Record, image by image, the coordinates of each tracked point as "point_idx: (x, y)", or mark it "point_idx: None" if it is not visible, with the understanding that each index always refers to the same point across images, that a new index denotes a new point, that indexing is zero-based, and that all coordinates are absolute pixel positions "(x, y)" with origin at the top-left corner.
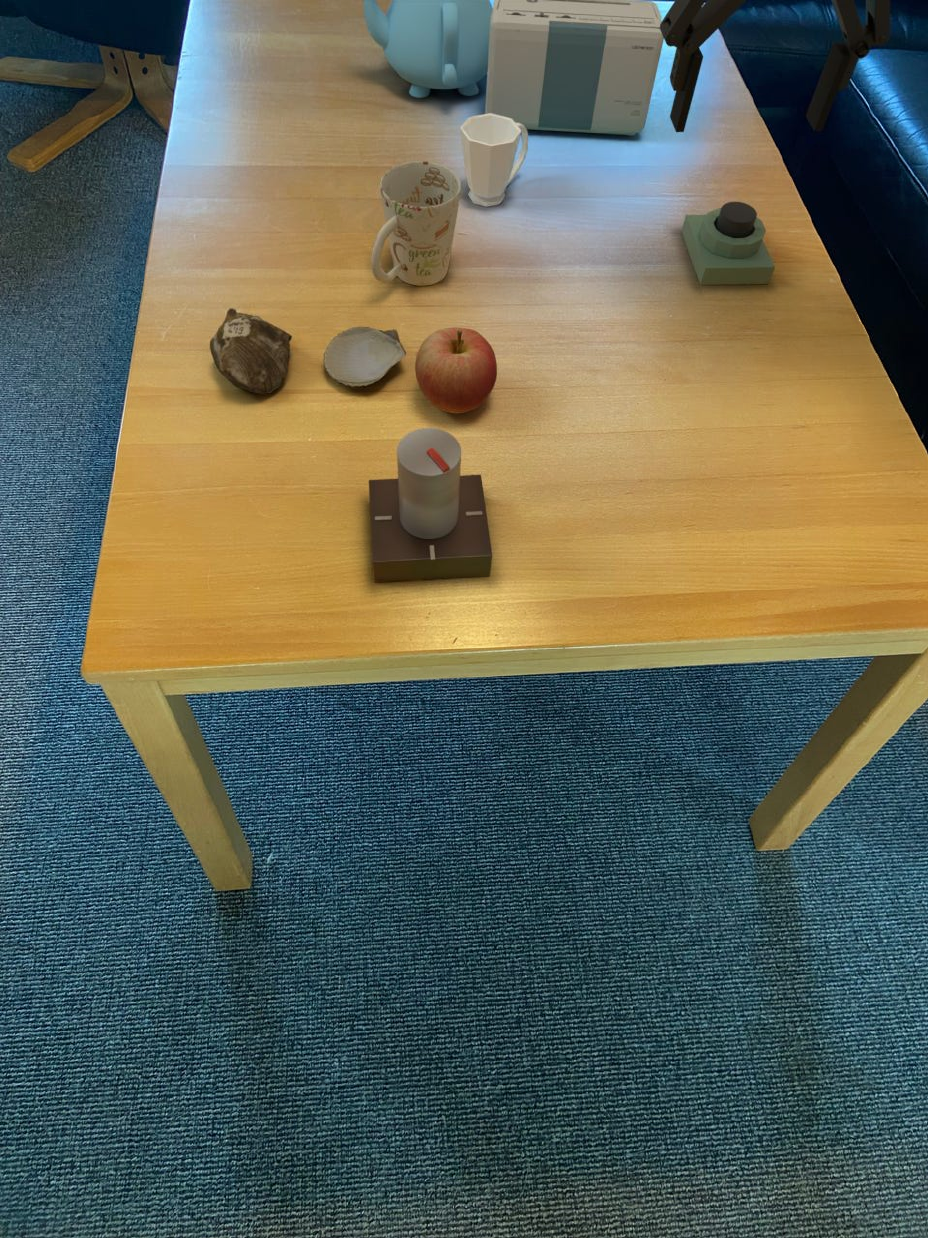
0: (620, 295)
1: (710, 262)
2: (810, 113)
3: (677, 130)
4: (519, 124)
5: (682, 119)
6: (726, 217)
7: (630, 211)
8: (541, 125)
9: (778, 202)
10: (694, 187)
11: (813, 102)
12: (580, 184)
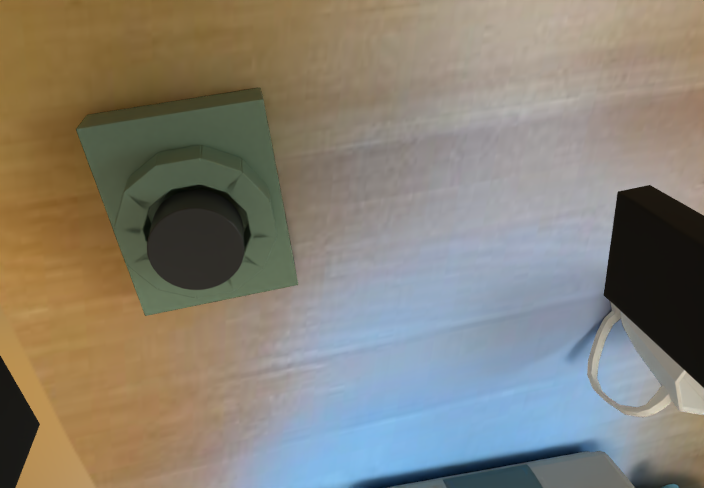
0: (449, 25)
1: (249, 122)
2: (14, 419)
3: (649, 187)
4: (649, 410)
5: (672, 210)
6: (231, 222)
7: (390, 304)
8: (523, 466)
9: (79, 392)
10: (258, 395)
11: (3, 466)
12: (471, 357)
